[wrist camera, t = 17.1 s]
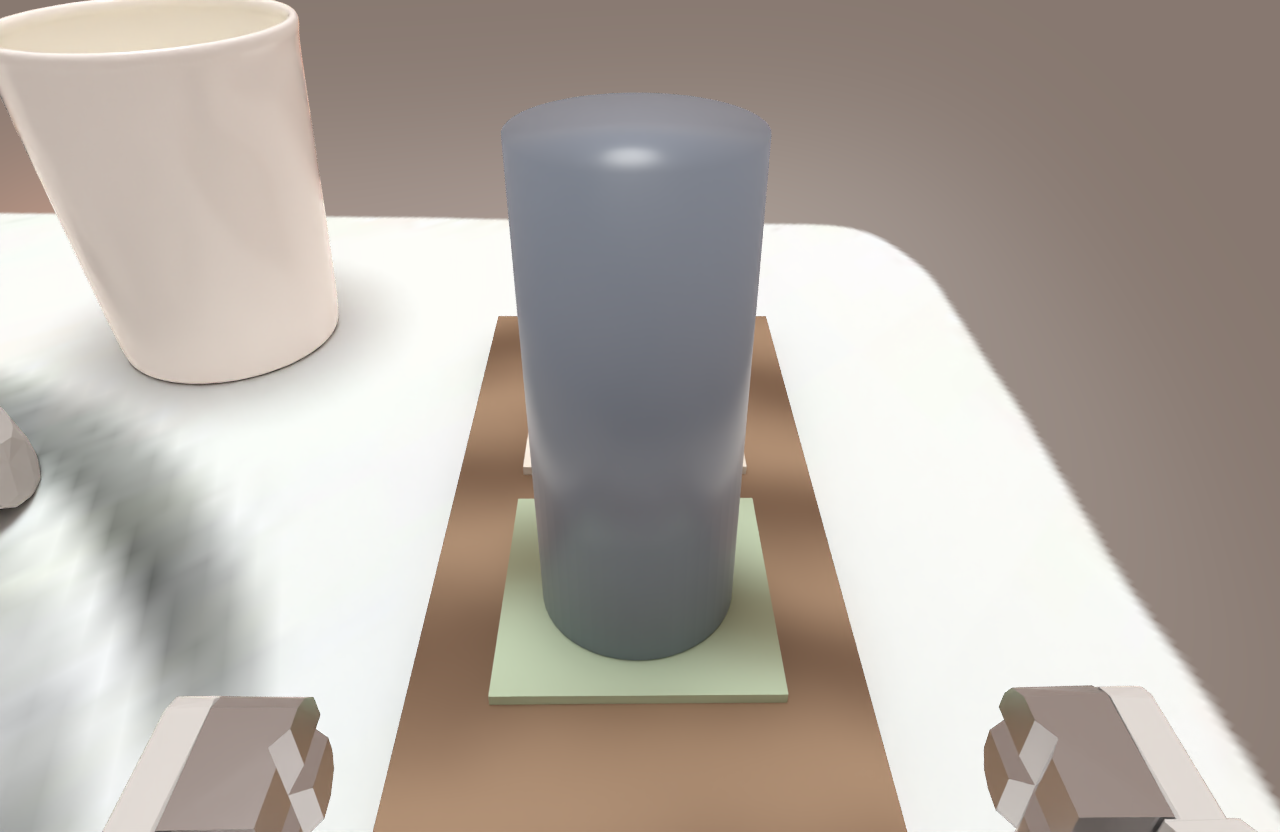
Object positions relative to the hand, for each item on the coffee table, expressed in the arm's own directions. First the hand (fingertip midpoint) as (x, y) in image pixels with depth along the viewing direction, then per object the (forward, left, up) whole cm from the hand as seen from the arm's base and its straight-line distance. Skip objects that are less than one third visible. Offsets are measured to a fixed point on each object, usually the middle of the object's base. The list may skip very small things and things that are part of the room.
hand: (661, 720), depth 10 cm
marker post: (-8, +5, -8) cm, 13 cm away
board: (-12, +8, -9) cm, 17 cm away
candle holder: (-30, 0, -9) cm, 32 cm away
